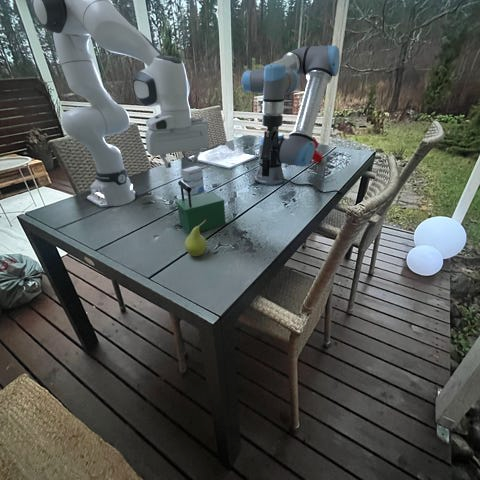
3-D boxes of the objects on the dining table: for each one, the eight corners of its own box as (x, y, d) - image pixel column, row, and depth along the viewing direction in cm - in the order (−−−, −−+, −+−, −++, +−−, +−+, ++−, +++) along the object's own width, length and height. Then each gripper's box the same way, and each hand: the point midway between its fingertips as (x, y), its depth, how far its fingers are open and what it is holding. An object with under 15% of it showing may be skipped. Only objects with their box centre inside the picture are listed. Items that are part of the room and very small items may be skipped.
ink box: (198, 188, 136) (196, 165, 129) (204, 191, 133) (202, 167, 126) (184, 193, 131) (181, 169, 124) (190, 196, 128) (187, 171, 121)
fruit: (184, 250, 90) (179, 218, 83) (206, 245, 92) (203, 214, 86) (188, 261, 85) (184, 228, 78) (211, 256, 87) (209, 223, 80)
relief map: (229, 168, 161) (229, 160, 158) (188, 158, 179) (187, 150, 176) (255, 158, 179) (255, 150, 177) (215, 150, 197) (215, 142, 194)
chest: (189, 235, 98) (187, 212, 94) (180, 224, 105) (177, 203, 100) (225, 224, 105) (224, 202, 100) (214, 214, 112) (212, 194, 107)
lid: (185, 213, 93) (182, 189, 89) (175, 203, 100) (172, 181, 95) (224, 202, 100) (223, 180, 96) (212, 194, 107) (211, 173, 102)
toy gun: (326, 157, 168) (314, 136, 164) (326, 159, 164) (313, 137, 160) (301, 172, 178) (289, 153, 174) (300, 174, 174) (287, 154, 170)
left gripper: (202, 115, 89) (205, 157, 97) (140, 121, 80) (149, 167, 87) (211, 118, 85) (214, 162, 92) (146, 124, 75) (155, 173, 83)
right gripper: (270, 109, 111) (267, 161, 122) (253, 119, 91) (252, 179, 102) (288, 110, 109) (284, 162, 120) (275, 120, 89) (271, 182, 100)
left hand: (182, 164), depth 90 cm, fingers open, 8 cm apart
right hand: (269, 170), depth 111 cm, fingers open, 13 cm apart
